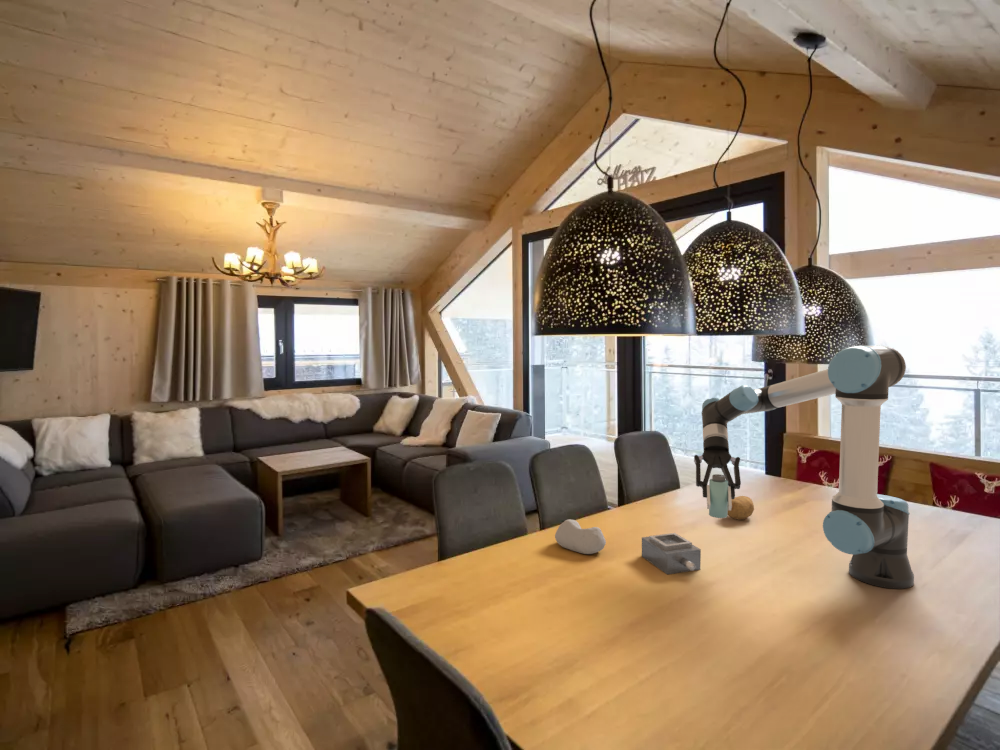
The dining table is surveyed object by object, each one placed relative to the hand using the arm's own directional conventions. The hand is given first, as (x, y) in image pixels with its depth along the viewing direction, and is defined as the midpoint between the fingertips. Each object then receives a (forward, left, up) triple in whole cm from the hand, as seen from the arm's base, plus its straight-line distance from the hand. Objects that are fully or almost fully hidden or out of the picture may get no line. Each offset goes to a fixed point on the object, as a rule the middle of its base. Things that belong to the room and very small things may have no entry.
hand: (719, 507), depth 167 cm
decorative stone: (+25, +33, -18) cm, 45 cm away
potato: (+34, -35, -18) cm, 52 cm away
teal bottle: (+3, -2, -3) cm, 5 cm away
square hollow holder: (+6, +12, -17) cm, 22 cm away
